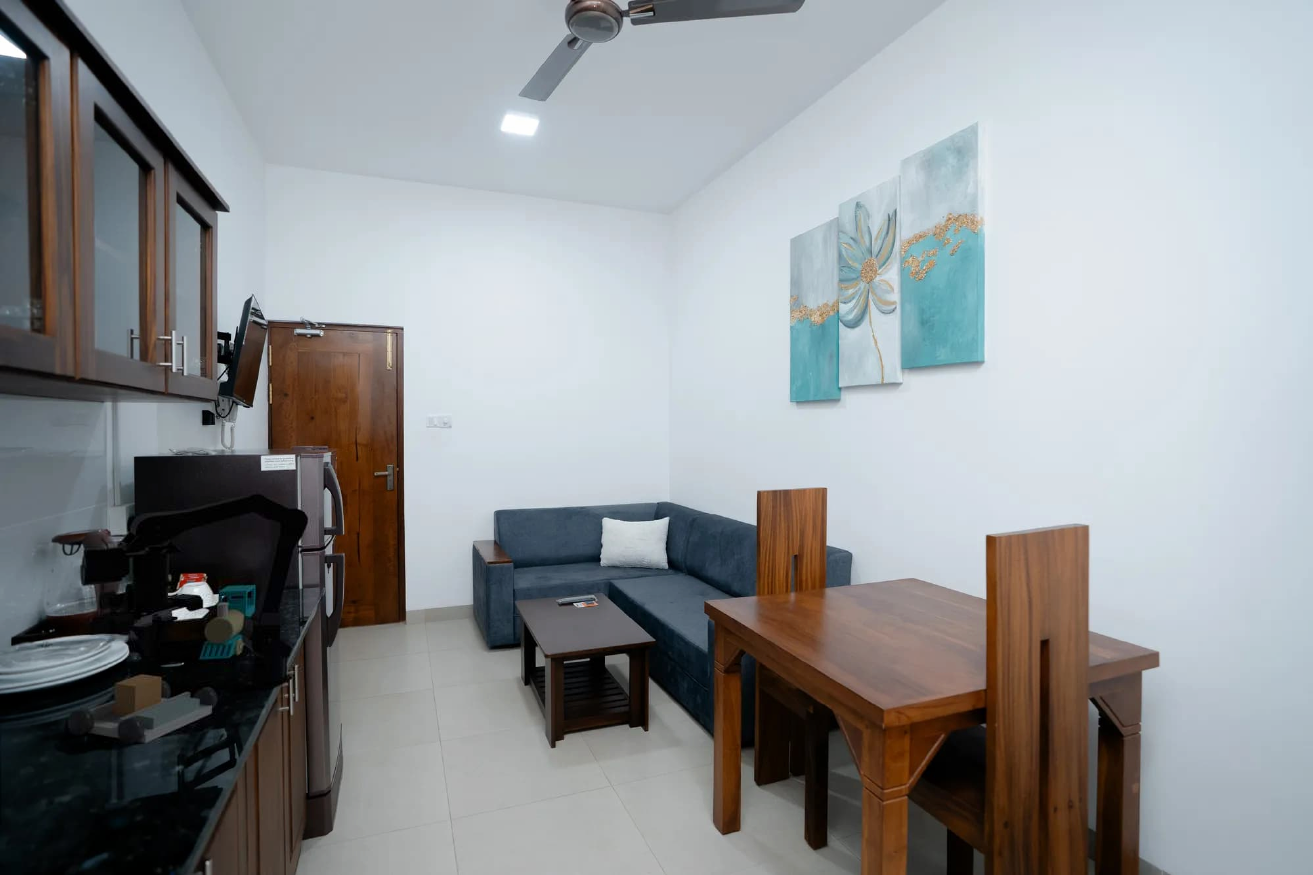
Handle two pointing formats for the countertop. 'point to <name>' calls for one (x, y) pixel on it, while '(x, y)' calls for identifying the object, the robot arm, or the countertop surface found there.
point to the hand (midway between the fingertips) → (149, 655)
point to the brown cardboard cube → (137, 694)
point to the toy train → (228, 623)
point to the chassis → (144, 716)
